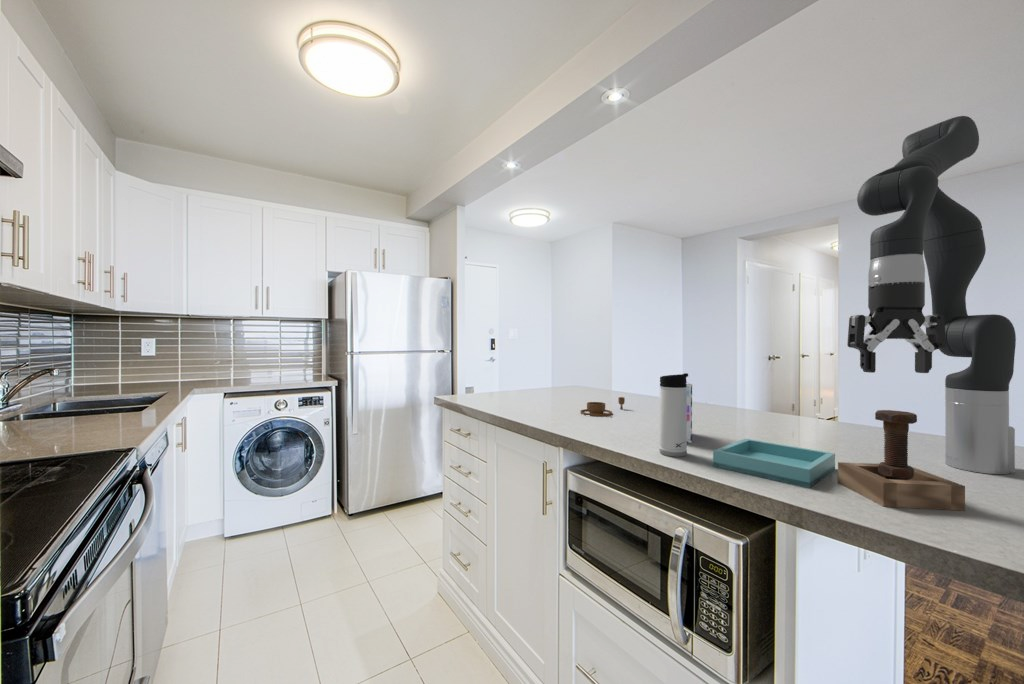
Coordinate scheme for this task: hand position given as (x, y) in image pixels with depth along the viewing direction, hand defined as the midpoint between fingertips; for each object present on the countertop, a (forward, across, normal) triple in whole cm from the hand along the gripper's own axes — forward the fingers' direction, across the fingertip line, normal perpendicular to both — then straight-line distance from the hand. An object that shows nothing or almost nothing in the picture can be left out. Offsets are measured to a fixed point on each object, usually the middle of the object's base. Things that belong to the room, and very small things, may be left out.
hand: (895, 372), depth 75 cm
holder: (+22, 0, 0) cm, 22 cm away
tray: (+22, +14, -14) cm, 30 cm away
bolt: (+22, 0, 0) cm, 22 cm away
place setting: (+23, +45, -79) cm, 94 cm away
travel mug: (+22, +33, -23) cm, 46 cm away
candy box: (+22, +28, -41) cm, 55 cm away
